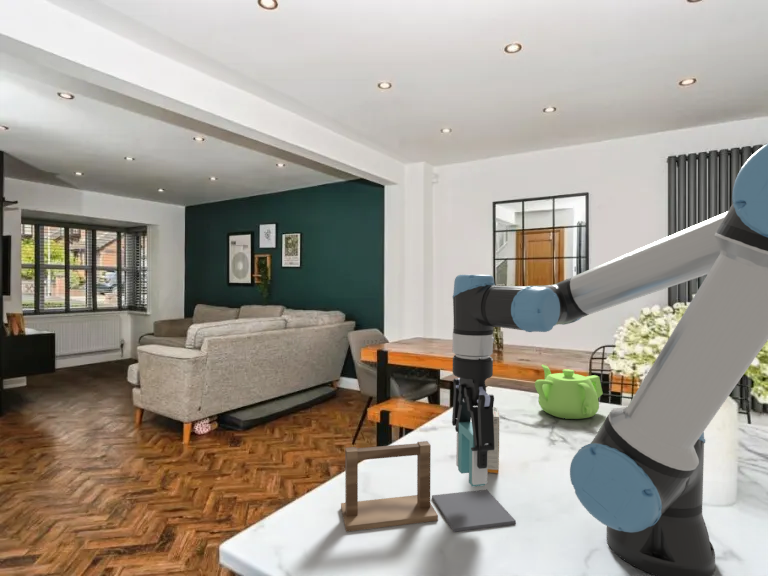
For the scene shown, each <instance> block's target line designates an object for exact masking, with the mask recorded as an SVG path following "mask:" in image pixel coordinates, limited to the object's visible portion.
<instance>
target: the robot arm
mask: <svg viewBox="0 0 768 576" xmlns="http://www.w3.org/2000/svg"><path fill="white" fill-rule="evenodd" d="M731 197H732V199H731V200H732V204H731V206H730V207H729V210H727V211H726V212H723V213H720V214H718V215H716V216H713V217H710V218H709V219H707V220H704V221H702V222H699V223H697V224H694V225H691V226H689V227H687V228H685V229H683V230H680V231H678V232H677V231H676V232H675V233H673V234H671V235H669V236H666V237H663V238H661V239H658V240H657V241H654V242H652V243H649V244H647V245H645V246H642V247H640V248H636V249H635V250H633V251H631V252H627V253H625V254H623V255H620V256H619V257H616V258H614V259H611V260H609V261H607V262H604V263H602V264H600V265H597V266H594V267H592V268H590V269H588V270H585V271H582V272H581V273H578V274H575V275H572V277H569V278H566V279H564V280H562V281H559V282H556V283H554V284H551V285H550V284H549V285H525V286H522V285H520V286H519V285H517V286H516V285H515V286H514V285H510V286H509V285H496V284H495V278H494V276H493V275H491V274H459V275H457V276H455V278H454V280H453V294H452V301H453V302H452V307H453V308H452V309H453V314H452V315H453V329H452V330H453V331H452V353H453V354H454V355H453V357H452V374H453V376H455V377H456V378H453V379H452V380H453V381H452V383H453V402H452V418H451V424H452V426H454V429H455V432H456V460H455V461H456V463H455V465H456V466H457V467H458V448H459V422H472V429H473V437H474V445H475V447H472V448H471V450H472V484H473V485H478V484H485V485H487V484H488V472H487V467H488V451H489V450H494V448H495V447H494V421H493V407H494V405H495V396H494V394H493V393H491V394H489V393H488V392H487V387H486V380H487V379H491V377H493V375H494V374H493V372H494V359H493V357H492V356H491V355H493V354H494V353H493V352H494V342H495V337H494V328H503V329H511V330H517V331H525V332H526V333H532V332H533V333H536V332H539V333H547V332H550V331H551V330H553V329H554V327H555V326H557V325H569V324H573V323H575V322H577V321H580V320H581V319H582V318H584V317H586V316H588V315H592V314H594V313H598V312H601V311H604V310H606V309H609V308H612V307H615V306H618V305H621V304H625V303H627V302H630V301H633V300H636V299H639V298H642V297H645V296H648V295H651V294H653V293H656V292H659V291H662V290H666V289H667V288H671V287H674V286H676V285H677V286H678V285H680V284H683V283H686V282H689V281H692V280H695V279H697V278H700V277H703V276H704V277H705V278H704V279H703V281H702V283H701V285H700V286H699V288H698V289H697V291H696V292H695V295H694V296H693V297H692V299H691V300H690V303H689V304H688V307H686V309H685V311H684V313H683V314H682V316H681V317H680V319H679V321H678V323H677V324H676V325H675V327H674V329H673V331H672V332H671V335H670V336H669V337H668V338H667V341H666V342H665V344H664V346H663V347H662V349H661V351H660V352H659V354H658V356H657V357H656V359H655V361H654V362H653V364H652V366H651V368H650V369H649V370H648V372H647V374H646V375H645V377H644V378H643V380H642V382H641V384H640V386H639V387H638V389H637V390H636V392H635V394H634V396H633V397H632V399H631V401H630V402H629V403H628V405H627V406H622V407H616V408H613V409H611V410H610V412H608V414H607V417H606V418H605V419H604V421H603V423H602V425H601V427H599V429H598V431H597V433H596V435H595V437H594V438H593V439H592V441H591V442H590V443H589V444H585V445H583V446H581V447H580V449H578V451H577V452H575V455H574V456H573V458H572V459H571V462H570V467H569V476H570V477H569V478H570V482H571V485H572V486H573V489H574V493H575V495H576V497H577V499H578V501H579V502H580V503H581V505H582V507H583V508H584V509H585V510H586V511H587V513H589V514H590V515H591V516H592V517H593V518H595V520H597V521H598V522H600V523H601V524H603V525H605V526H606V542H607V544H608V545H609V547H610V549H611V550H612V552H614V554H616V555H617V556H618V557H620V559H622V560H623V561H625V562H626V563H628V564H630V565H632V566H634V567H635V568H637V569H639V570H642V571H644V572H646V573H649V574H652V575H655V576H712V575H713V574H714V573H715V570H716V551H715V548H714V545H713V543H712V542H711V541H710V535H709V532H708V529H707V525H706V522H705V519H704V517H703V496H704V495H703V494H704V493H703V492H704V487H703V486H704V463H705V462H704V461H705V460H704V457H705V454H704V453H705V443H706V438H705V433H704V431H706V429H707V428H708V426H709V425H710V423H711V422H712V420H713V419H714V418H715V416H716V414H717V413H718V412H719V410H721V407H722V406H723V405H724V403H725V402H726V400H727V399H728V397H730V395H731V393H732V391H733V390H734V389H735V387H736V386H737V384H738V383H739V382H740V381H741V378H742V377H743V376H744V374H745V373H746V372H747V370H748V369H749V367H750V366H751V365H752V363H753V361H754V360H755V359H756V357H757V356H758V355H759V353H760V351H762V349H763V348H764V346H765V344H766V343H767V342H768V143H766V144H765V145H763V146H761V147H760V148H759V149H758V150H756V151H755V152H754V153H753V154H752V155H750V156H749V158H748V159H747V160H746V161H745V162H744V163H743V165H742V166H741V168H740V169H739V172H738V173H737V176H736V178H735V180H734V183H733V188H732V196H731Z"/></svg>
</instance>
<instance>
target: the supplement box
mask: <svg viewBox="0 0 768 576" xmlns="http://www.w3.org/2000/svg"><path fill="white" fill-rule="evenodd" d="M499 414H500V413H499V408H498V407H497V406H493V421H494V447H495V448H494V450H489V451H488V467H487V473H490V474H491V473H492V474H499V472H500V471H499V469H500V467H499V465H500V415H499Z"/></svg>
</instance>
